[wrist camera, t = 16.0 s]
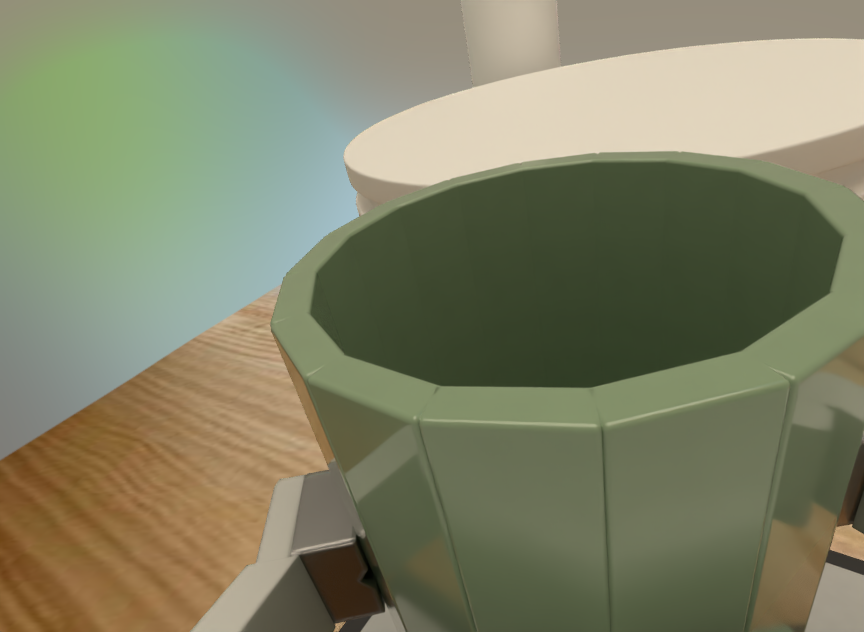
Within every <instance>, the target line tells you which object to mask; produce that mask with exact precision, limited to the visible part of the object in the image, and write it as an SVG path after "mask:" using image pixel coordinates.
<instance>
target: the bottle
mask: <svg viewBox="0 0 864 632" xmlns="http://www.w3.org/2000/svg"><path fill="white" fill-rule="evenodd" d="M461 8H462V15H463V21H464V28H465V35H466V42H467V49H468V56H469V63H470V70H471V77H472V84H473V88H474V87H478V86H481V85H485V84H489V83H493V82H497V81H501V80H505V79H509V78H513V77H517V76H521V75H526V74H530V73H534V72H539V71H544V70H548V69H553V68H558V67H561V59H560V42H559V27H558V11H557V0H461Z"/></svg>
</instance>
